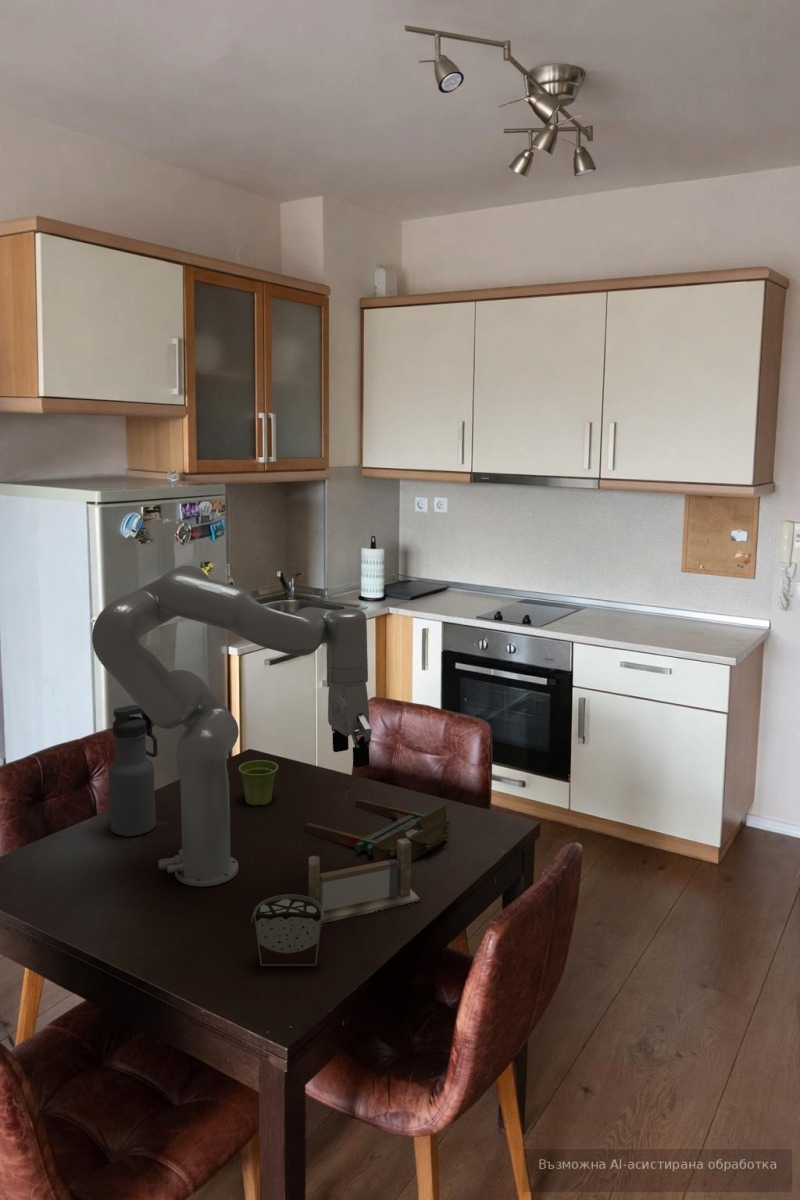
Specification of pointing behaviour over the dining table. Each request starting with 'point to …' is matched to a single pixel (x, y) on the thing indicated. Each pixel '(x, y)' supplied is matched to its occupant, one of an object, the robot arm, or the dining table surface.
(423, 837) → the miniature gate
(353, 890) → the panel
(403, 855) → the gate frame
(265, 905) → the food container
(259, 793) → the plant pot
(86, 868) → the dining table surface
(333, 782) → the dining table surface
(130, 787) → the water bottle
